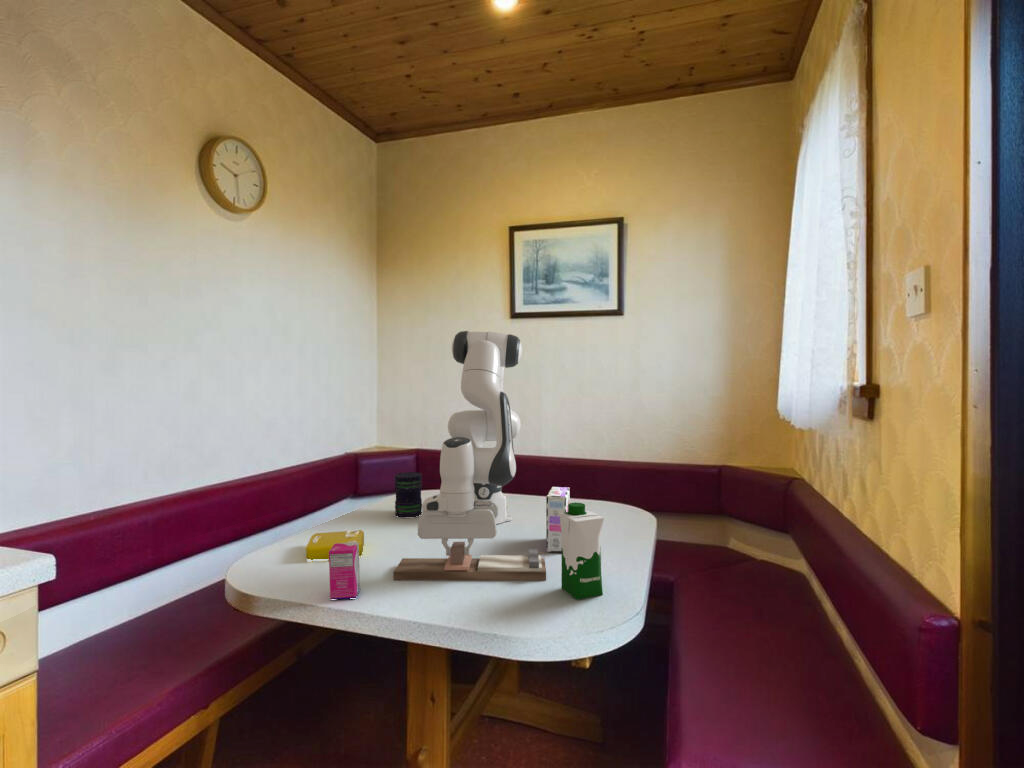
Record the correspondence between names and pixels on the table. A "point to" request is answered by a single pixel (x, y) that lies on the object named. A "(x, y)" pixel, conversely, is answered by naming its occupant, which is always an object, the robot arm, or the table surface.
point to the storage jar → (408, 494)
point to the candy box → (555, 516)
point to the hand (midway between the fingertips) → (457, 554)
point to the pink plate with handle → (458, 558)
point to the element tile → (332, 543)
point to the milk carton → (581, 552)
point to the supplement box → (344, 570)
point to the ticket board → (475, 568)
